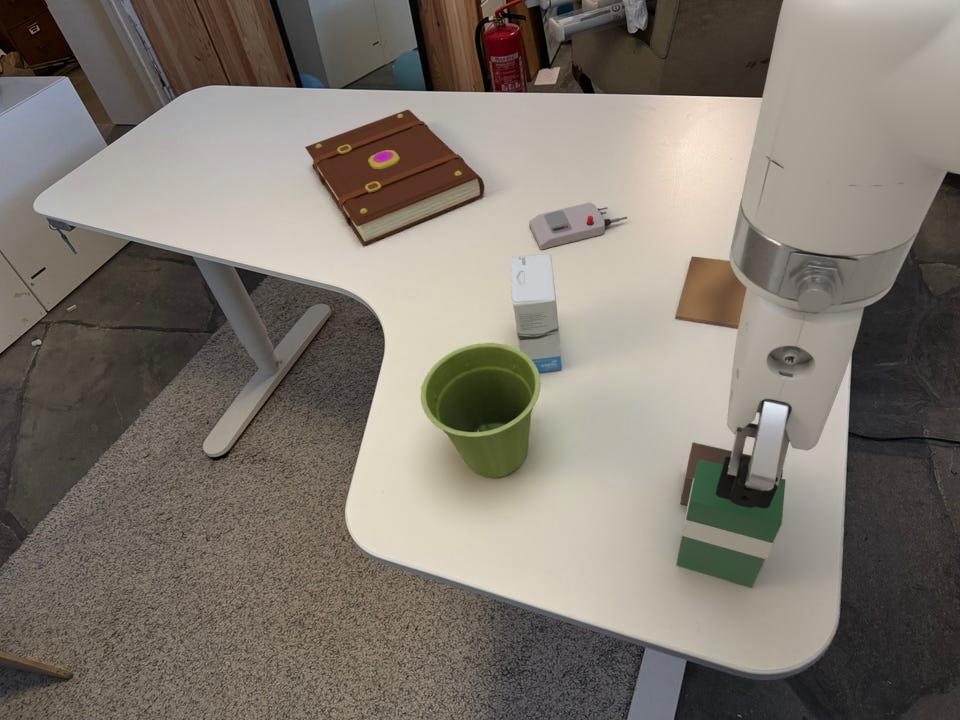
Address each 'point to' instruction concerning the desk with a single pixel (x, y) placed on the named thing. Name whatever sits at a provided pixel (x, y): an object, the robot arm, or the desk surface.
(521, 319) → the ink box
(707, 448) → the block
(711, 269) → the coaster
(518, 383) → the plant pot
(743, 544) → the block
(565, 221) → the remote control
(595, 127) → the desk surface
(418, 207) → the book
